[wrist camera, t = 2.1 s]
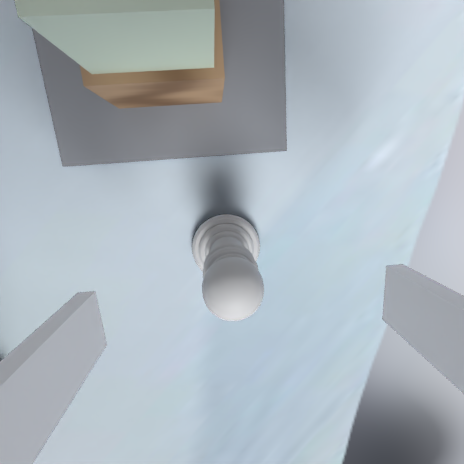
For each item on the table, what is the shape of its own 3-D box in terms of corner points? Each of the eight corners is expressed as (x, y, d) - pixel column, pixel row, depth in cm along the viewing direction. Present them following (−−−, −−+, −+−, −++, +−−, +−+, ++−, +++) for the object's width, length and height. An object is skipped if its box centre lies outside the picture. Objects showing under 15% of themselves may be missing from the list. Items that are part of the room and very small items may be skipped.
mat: (65, 166, 19) (62, 166, 18) (12, -79, 15) (7, -85, 15) (285, 150, 20) (286, 150, 19) (280, -85, 16) (281, -91, 16)
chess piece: (262, 271, 22) (295, 339, 13) (198, 281, 22) (189, 358, 13) (254, 208, 20) (284, 237, 12) (186, 218, 20) (166, 256, 12)
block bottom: (118, 108, 18) (83, 85, 13) (99, -15, 16) (49, -94, 11) (221, 102, 18) (224, 78, 13) (212, -19, 16) (212, -98, 12)
